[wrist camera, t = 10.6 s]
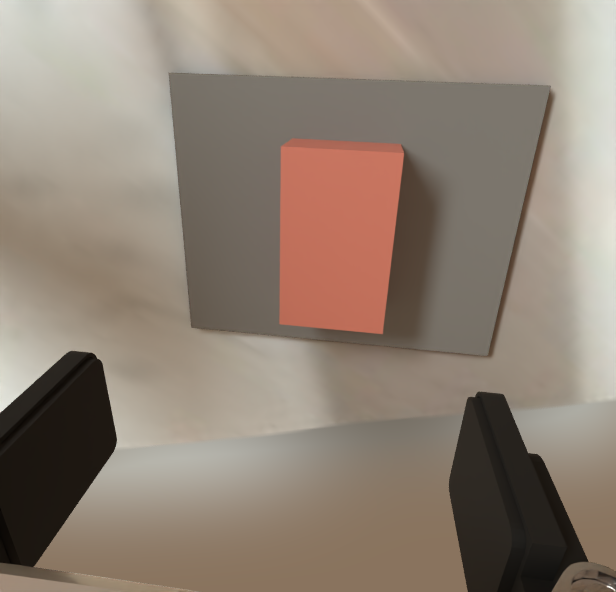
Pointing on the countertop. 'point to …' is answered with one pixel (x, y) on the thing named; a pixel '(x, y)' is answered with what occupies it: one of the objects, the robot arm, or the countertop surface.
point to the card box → (337, 232)
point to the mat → (411, 206)
